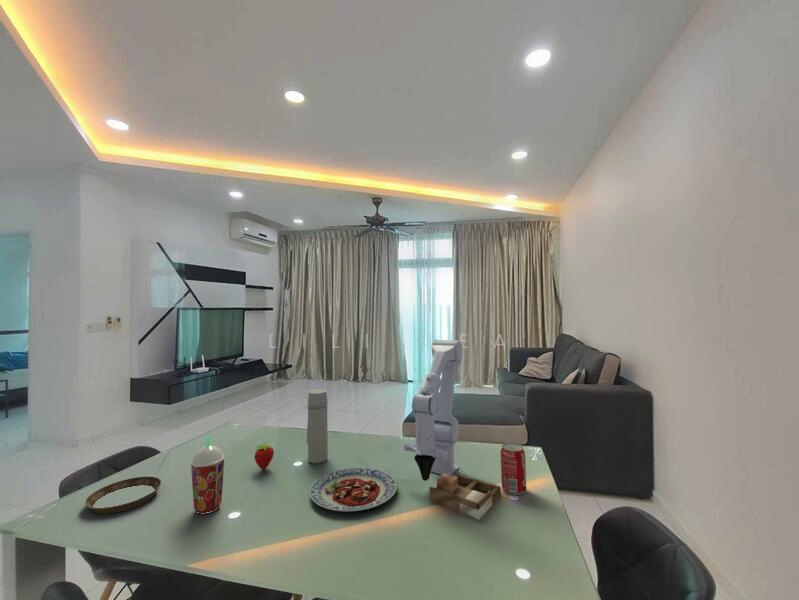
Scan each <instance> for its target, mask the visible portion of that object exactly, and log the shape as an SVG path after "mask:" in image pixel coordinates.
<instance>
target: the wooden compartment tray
mask: <svg viewBox="0 0 799 600" xmlns="http://www.w3.org/2000/svg"><path fill="white" fill-rule="evenodd" d="M451 475H452V476H455V477H458V488H457V489H456V490H455V491H454V492H453V493H448V492H445V491H442V490H439V489H437V486H436V487H433V486H429V503H432V502H433V503H432V504H434V505H438V506H440V507H443V506H444V508H446V509H448V508H449V510H451V509H452V511H455V512H456V513H459V512H460V513H459V514H463V515H465V516H468V517H471V518H473V519H475V520H480V519H481V518H482V517H483V516H484V514H486V513H487V511H488V510H489V509H490V508H491V507H492V506H493V505H494V503H496V501H497V500H498V499H499V498H500V496H501V491H502V490H501V485H500V486H499V485H498V484H497V485H496V484H493V483H491V482H490V483H489V482H487V481H483V480H480V479H477V478H474V477H473V478H472V477H469V476H466V475H464V474H460V473H456V472H453V473H452V474H451Z"/></svg>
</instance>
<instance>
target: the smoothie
mask: <svg viewBox="0 0 799 600" xmlns="http://www.w3.org/2000/svg"><path fill="white" fill-rule="evenodd" d="M225 458H226V456H225V454H224V453H223V451H222V449H221V448H220V447H218V446H216V445H213V444H212V445H211V444H210V435H207V436H206V446H202V447H201V448H199V449H198V451H196V452H195V454H194V456H193V457H192V459H191V460H190V468H191V483H192V497H193V498H192V500H193V508H194V510H195V512H196V511H197V512H199V513H206V512H210V511H213V510H215V509H216V508H218V507H219V508H220V506H219V505H221V503H222V501H223V489H224V488H223V485H224V484H223V483H224V471H225ZM219 508H218V509H219ZM215 511H216V510H215ZM197 512H196V513H197Z"/></svg>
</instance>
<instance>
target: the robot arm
mask: <svg viewBox="0 0 799 600" xmlns="http://www.w3.org/2000/svg"><path fill="white" fill-rule="evenodd" d="M431 355H432V362H431V366H430V370H429V373H427V374H425V376H424V378H423V380H422V383H421V385H420V389H419V391H418V393H417V394H414V396H413V398H412V402H411V410H412V411H413V418H414V420H415V442H414V443H412V442H406V443H404V445H403V446H404V447H403V448H404V451H405V452H408V451H409V452H413V453H415V455H414V459H413V460H414V461H415V463H416V465H417V467H418V469H419V472H420V476H421V480H422V481H425V482H427V481H428V480H430V478H431V477H430V476H431V472H433V473H436V474H438V475H439V474H440V475H443V474H444V473H446V474H449V475H453V474H454V473H455V472H456V471H457V470H459V468H460V466H458V465H455V445H456V444H457V442H458V441H459V438H460V437H459V435H460V431H459V430H460V428H459V420H458V419H457V418H456V417H455V416H454V415H453V414H452V410H453V402H454V401H453V400H454V395H455V393H454V392H455V385H456V384H455V383H456V373H457V368H458V366H461V364H462V357H463V345H462V341H460V340H459V339H457V340H454V339H453V340H449V339H447V340H445V339H434V340H433V341H432V343H431ZM438 394H439V395H438Z"/></svg>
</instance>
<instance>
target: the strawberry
mask: <svg viewBox="0 0 799 600" xmlns="http://www.w3.org/2000/svg"><path fill="white" fill-rule="evenodd" d="M274 451H275V450H274V448H273V447H271V444H267V443H266V444H263V445H260V446H257V449H256V451H255V452H254V461H255V463H256V465H257V466H258V468H259V469H261V471H263V470H264V471H265V470H267V468H268V466H269V465H270V463H271V462H272V460H273V458H274V454H275V452H274Z"/></svg>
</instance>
